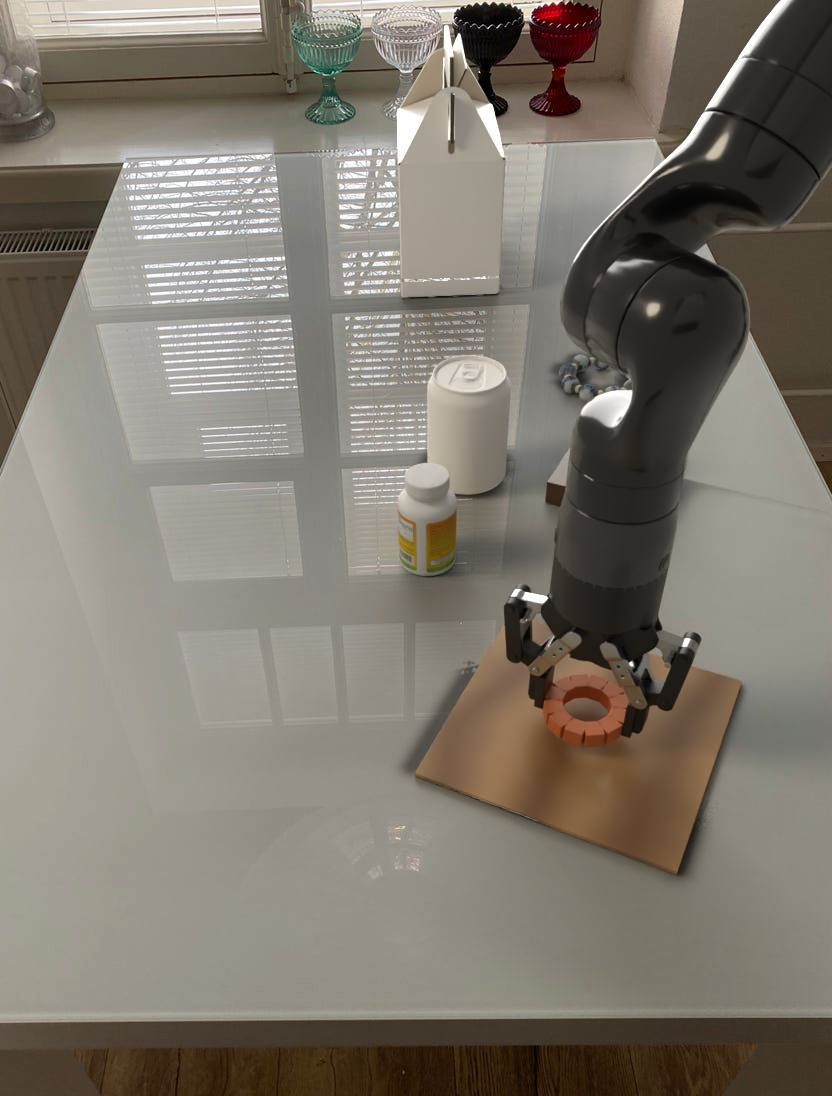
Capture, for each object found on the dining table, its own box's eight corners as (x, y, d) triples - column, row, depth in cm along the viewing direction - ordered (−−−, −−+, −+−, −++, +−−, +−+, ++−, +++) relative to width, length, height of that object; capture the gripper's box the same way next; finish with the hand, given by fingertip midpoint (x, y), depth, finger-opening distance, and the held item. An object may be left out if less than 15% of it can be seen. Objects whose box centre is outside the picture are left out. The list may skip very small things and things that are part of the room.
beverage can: (420, 495, 102) (419, 391, 93) (435, 451, 107) (435, 349, 99) (499, 503, 100) (505, 398, 92) (509, 458, 106) (516, 355, 97)
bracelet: (658, 397, 113) (661, 382, 111) (579, 414, 111) (581, 398, 110) (618, 358, 120) (620, 343, 118) (543, 373, 118) (545, 358, 117)
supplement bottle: (460, 545, 96) (463, 461, 89) (449, 581, 92) (451, 496, 85) (406, 538, 97) (404, 454, 90) (393, 573, 93) (390, 488, 86)
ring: (637, 701, 78) (640, 688, 77) (612, 758, 74) (615, 746, 73) (559, 676, 80) (561, 664, 79) (531, 730, 76) (532, 718, 75)
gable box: (499, 296, 133) (510, 62, 114) (401, 300, 134) (395, 68, 114) (487, 230, 149) (495, 15, 130) (399, 234, 150) (394, 21, 130)
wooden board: (741, 684, 81) (742, 680, 80) (676, 875, 68) (677, 872, 68) (510, 615, 88) (511, 611, 88) (414, 776, 76) (414, 773, 76)
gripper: (736, 542, 65) (690, 711, 77) (529, 491, 71) (515, 656, 82) (708, 612, 61) (663, 781, 72) (489, 552, 66) (480, 718, 78)
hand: (584, 714), depth 77 cm, fingers closed on ring, 6 cm apart
